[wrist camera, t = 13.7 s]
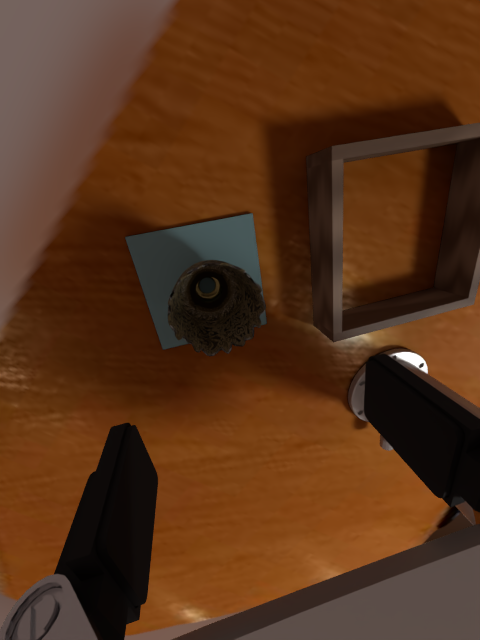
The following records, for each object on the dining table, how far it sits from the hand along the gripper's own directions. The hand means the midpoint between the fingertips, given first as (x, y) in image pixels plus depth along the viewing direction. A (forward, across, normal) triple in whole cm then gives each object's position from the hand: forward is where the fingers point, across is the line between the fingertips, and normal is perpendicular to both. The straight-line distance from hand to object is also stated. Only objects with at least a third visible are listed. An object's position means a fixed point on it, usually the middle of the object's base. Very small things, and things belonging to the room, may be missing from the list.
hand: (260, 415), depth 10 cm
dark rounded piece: (+19, 0, -1) cm, 19 cm away
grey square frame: (+19, -20, -2) cm, 28 cm away
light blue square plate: (+19, +1, -1) cm, 19 cm away
